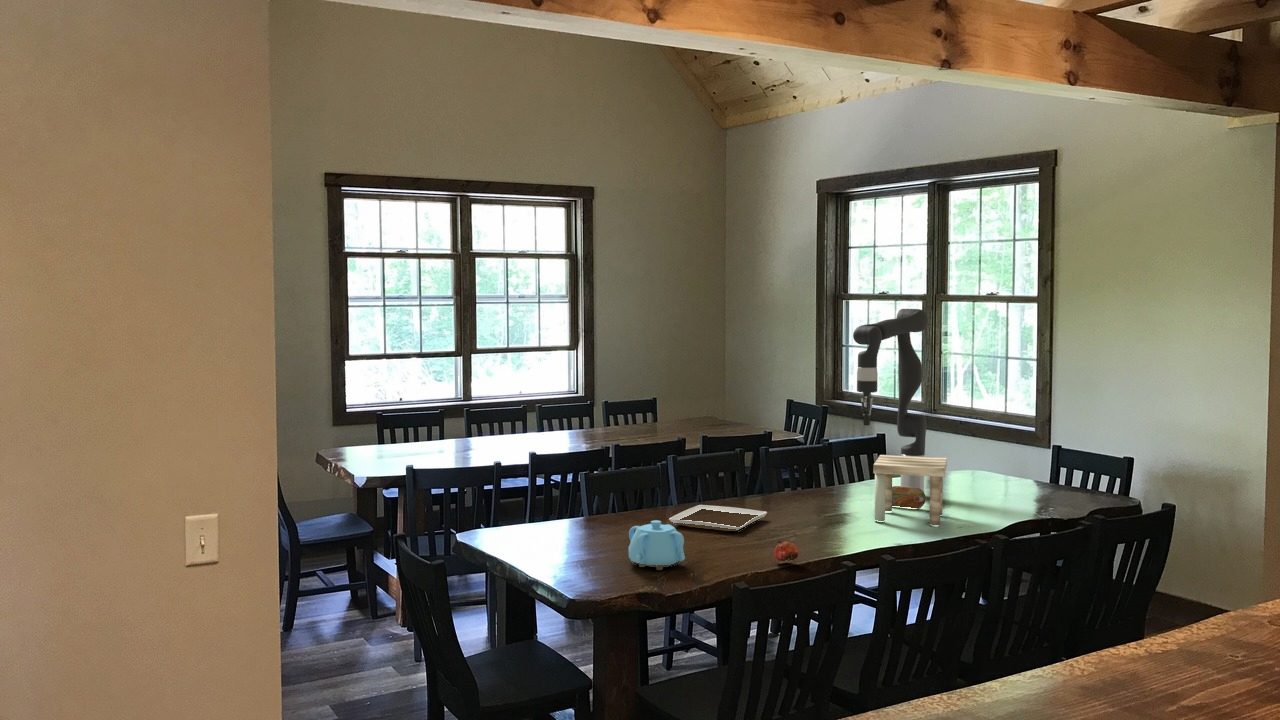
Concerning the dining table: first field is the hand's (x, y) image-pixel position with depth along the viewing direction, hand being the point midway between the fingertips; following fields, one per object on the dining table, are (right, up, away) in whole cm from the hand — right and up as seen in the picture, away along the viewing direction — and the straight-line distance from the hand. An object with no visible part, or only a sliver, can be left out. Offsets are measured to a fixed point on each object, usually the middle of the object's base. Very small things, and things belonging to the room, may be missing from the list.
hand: (866, 425), depth 387 cm
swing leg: (+2, -33, -16) cm, 36 cm away
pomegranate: (-41, -37, -77) cm, 95 cm away
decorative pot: (-80, -38, -77) cm, 118 cm away
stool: (+12, -33, -15) cm, 38 cm away
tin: (+16, -32, +4) cm, 36 cm away
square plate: (-57, -34, -21) cm, 70 cm away
